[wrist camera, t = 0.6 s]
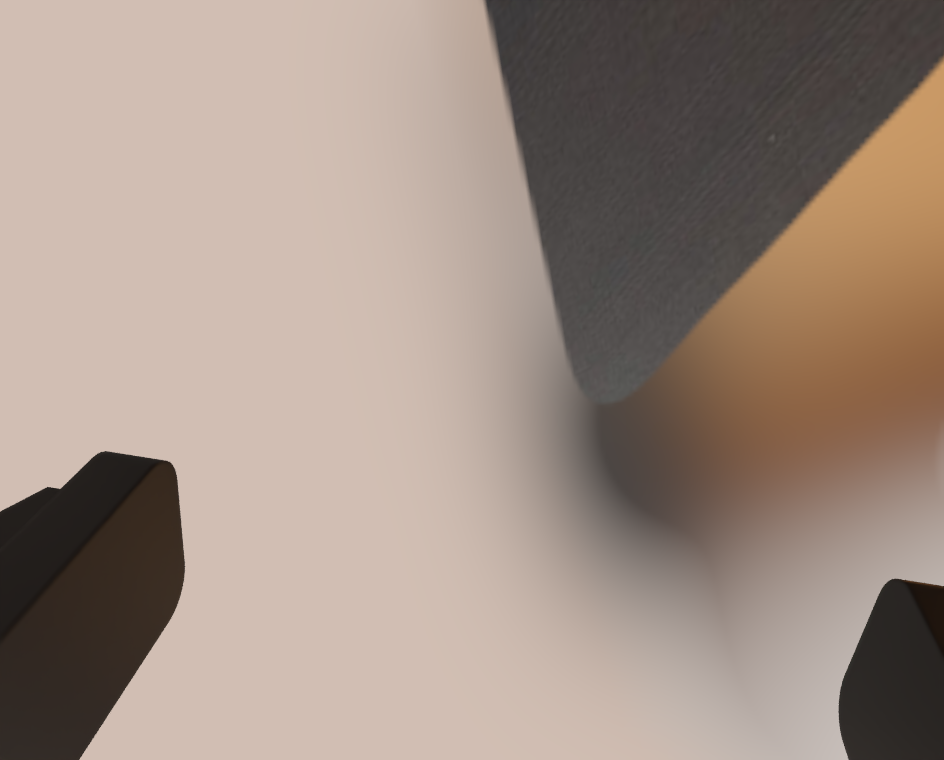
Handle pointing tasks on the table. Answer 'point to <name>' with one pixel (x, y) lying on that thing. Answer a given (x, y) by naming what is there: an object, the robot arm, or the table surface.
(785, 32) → the table surface
